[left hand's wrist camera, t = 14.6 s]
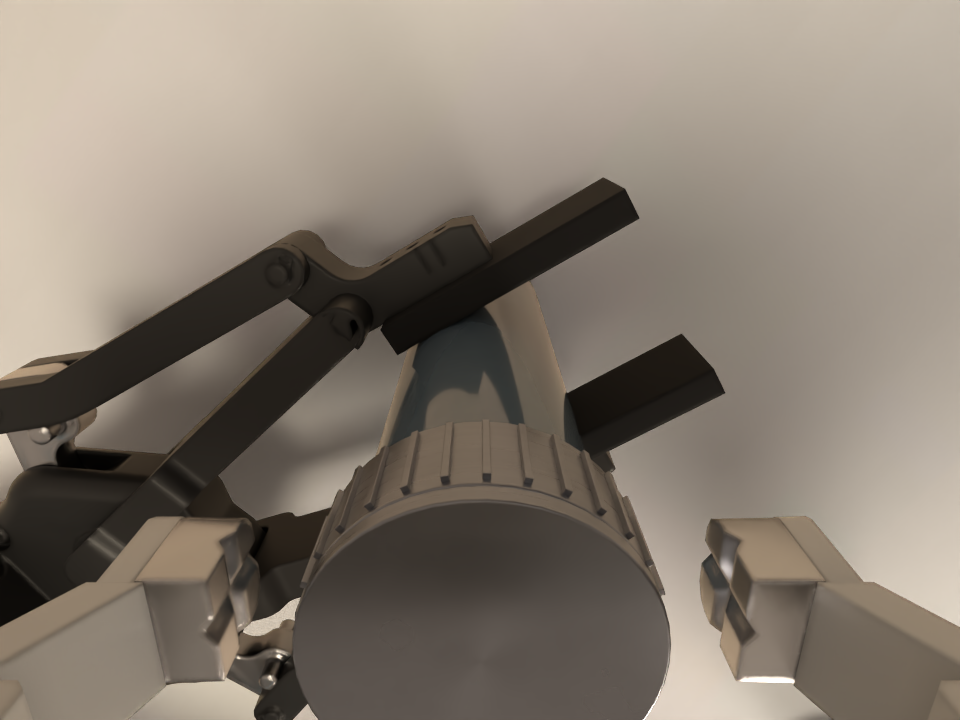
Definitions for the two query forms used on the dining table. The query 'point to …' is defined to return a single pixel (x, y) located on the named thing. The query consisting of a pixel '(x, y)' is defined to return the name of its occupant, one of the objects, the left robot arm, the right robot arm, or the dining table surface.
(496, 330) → the grey cylinder
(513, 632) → the lid
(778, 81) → the dining table surface
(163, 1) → the dining table surface
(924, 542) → the dining table surface
